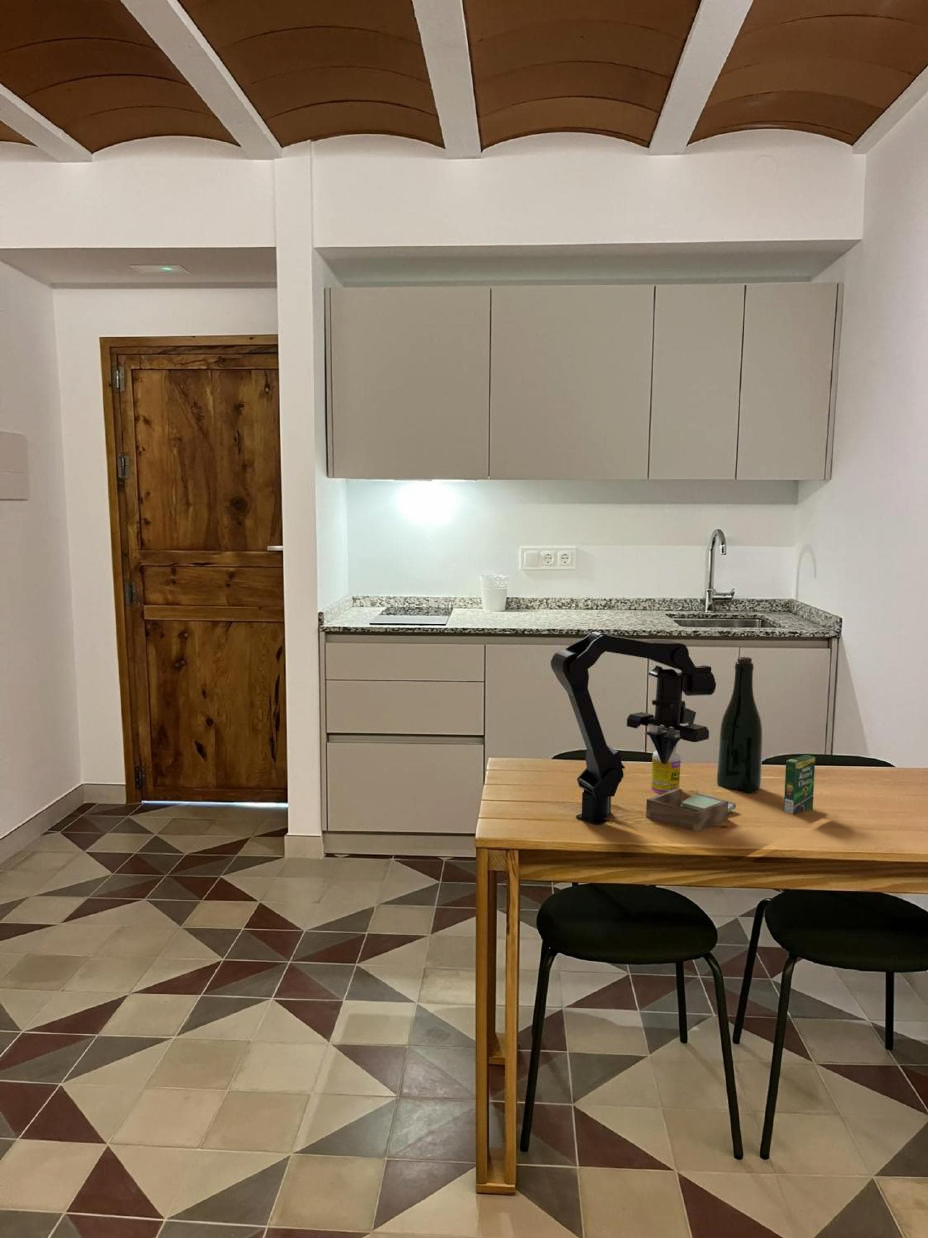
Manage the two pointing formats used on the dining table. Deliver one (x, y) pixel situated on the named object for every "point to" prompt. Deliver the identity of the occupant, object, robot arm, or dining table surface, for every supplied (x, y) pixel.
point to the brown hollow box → (684, 812)
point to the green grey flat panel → (704, 802)
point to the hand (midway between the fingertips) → (664, 763)
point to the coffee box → (799, 784)
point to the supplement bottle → (665, 773)
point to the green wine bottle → (741, 735)
